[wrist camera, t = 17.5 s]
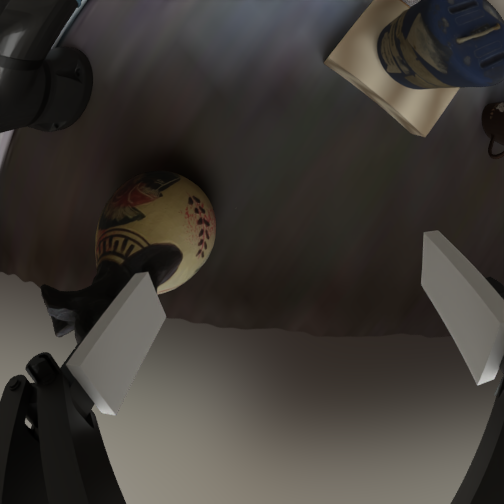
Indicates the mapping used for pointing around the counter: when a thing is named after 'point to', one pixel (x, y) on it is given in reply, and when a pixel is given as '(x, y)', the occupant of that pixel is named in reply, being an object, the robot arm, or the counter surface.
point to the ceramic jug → (139, 246)
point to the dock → (377, 79)
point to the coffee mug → (494, 125)
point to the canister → (444, 45)
